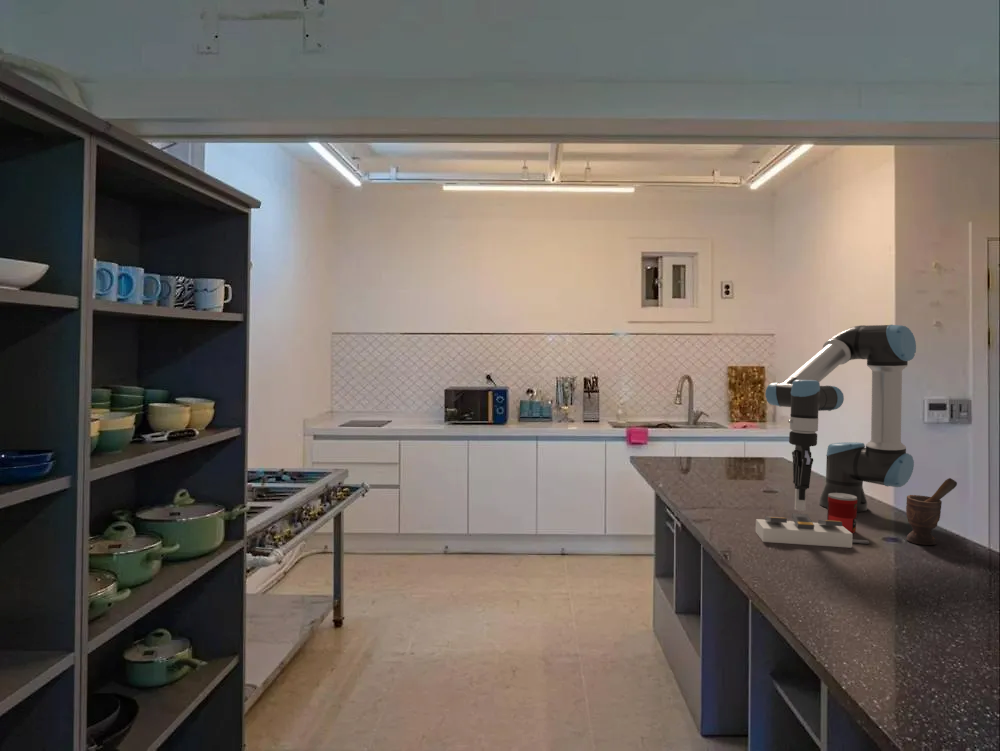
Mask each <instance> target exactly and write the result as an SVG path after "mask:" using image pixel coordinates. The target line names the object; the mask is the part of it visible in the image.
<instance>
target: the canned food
mask: <svg viewBox="0 0 1000 751" xmlns="http://www.w3.org/2000/svg"><path fill="white" fill-rule="evenodd" d="M826 513H827V515H826V516H827V517H826V520H834V521H841V522H842V526H843V527H845V528H846V529H847V530H848V531H850V532H851V533H852V534H854V533H855V532H856V530H857V516H858V514H857V497H856V496H854V495H850V494H845V493H830V494H828V508H827V512H826Z"/></svg>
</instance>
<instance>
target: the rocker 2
mask: <svg viewBox="0 0 1000 751" xmlns="http://www.w3.org/2000/svg"><path fill="white" fill-rule="evenodd" d="M817 523H818V524H822V525H830V526H842V522H841V521H834V520H827V519H818V520H817Z"/></svg>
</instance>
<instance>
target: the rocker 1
mask: <svg viewBox="0 0 1000 751" xmlns="http://www.w3.org/2000/svg"><path fill="white" fill-rule="evenodd" d="M764 520H766V521H770V522H782V523H787V521H788V520H787V517H782V516H780V517H779V516H765V517H764Z"/></svg>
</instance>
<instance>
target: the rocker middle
mask: <svg viewBox="0 0 1000 751" xmlns="http://www.w3.org/2000/svg"><path fill="white" fill-rule="evenodd" d="M791 519H792V521H794V522H795V524H796V526H797V528H802V529H814V524H813V523H814V521H812V520H811V518H810V516H809V515H808V513H806V514H805V513H795V512H793V513H791Z"/></svg>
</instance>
